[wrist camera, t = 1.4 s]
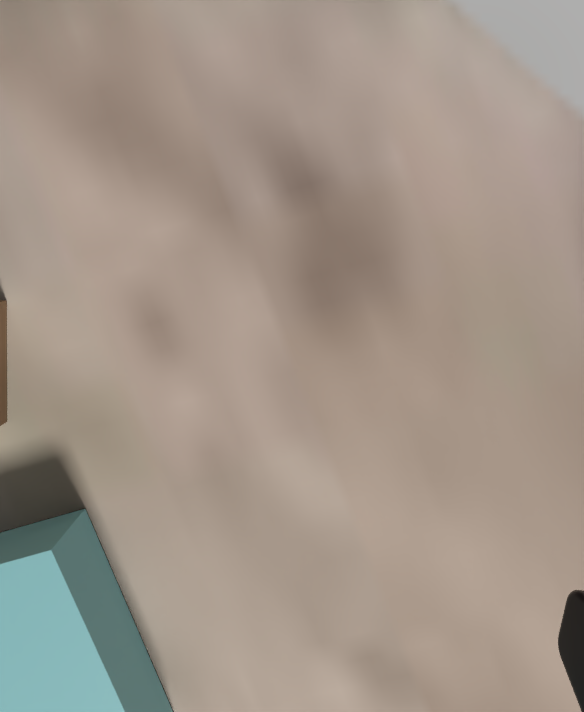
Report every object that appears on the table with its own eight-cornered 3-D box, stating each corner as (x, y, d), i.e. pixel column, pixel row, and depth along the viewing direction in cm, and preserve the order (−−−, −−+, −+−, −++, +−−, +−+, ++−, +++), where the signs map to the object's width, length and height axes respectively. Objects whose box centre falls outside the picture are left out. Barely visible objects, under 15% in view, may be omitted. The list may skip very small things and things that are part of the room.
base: (85, 508, 22) (51, 550, 19) (174, 714, 24) (156, 780, 21) (-144, 573, 23) (-210, 622, 20) (-38, 765, 25) (-84, 835, 22)
